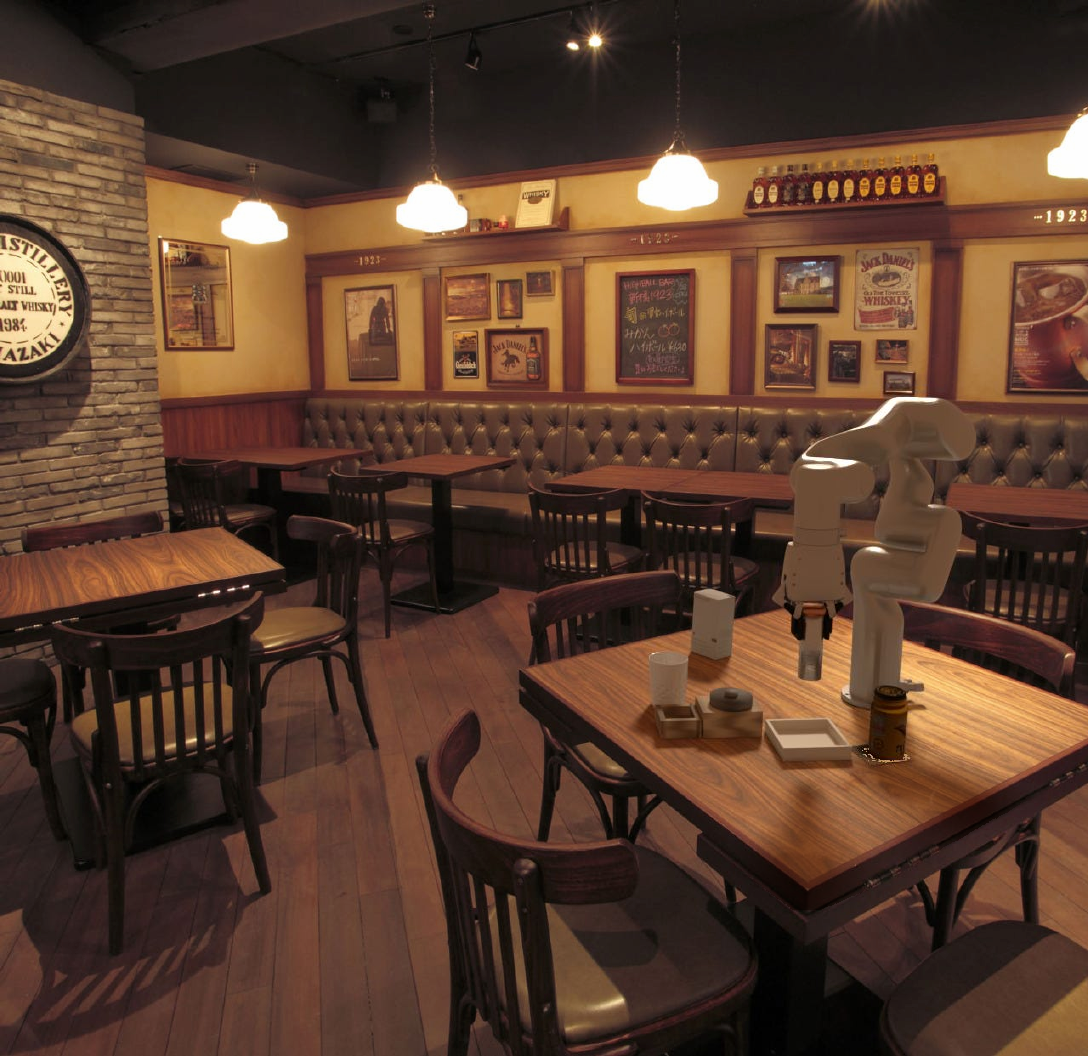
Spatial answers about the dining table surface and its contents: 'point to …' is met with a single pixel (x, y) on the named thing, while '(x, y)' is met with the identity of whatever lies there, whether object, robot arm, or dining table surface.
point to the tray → (807, 739)
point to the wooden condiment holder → (712, 716)
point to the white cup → (668, 677)
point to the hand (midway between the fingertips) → (811, 636)
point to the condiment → (886, 726)
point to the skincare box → (712, 623)
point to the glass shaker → (811, 642)
